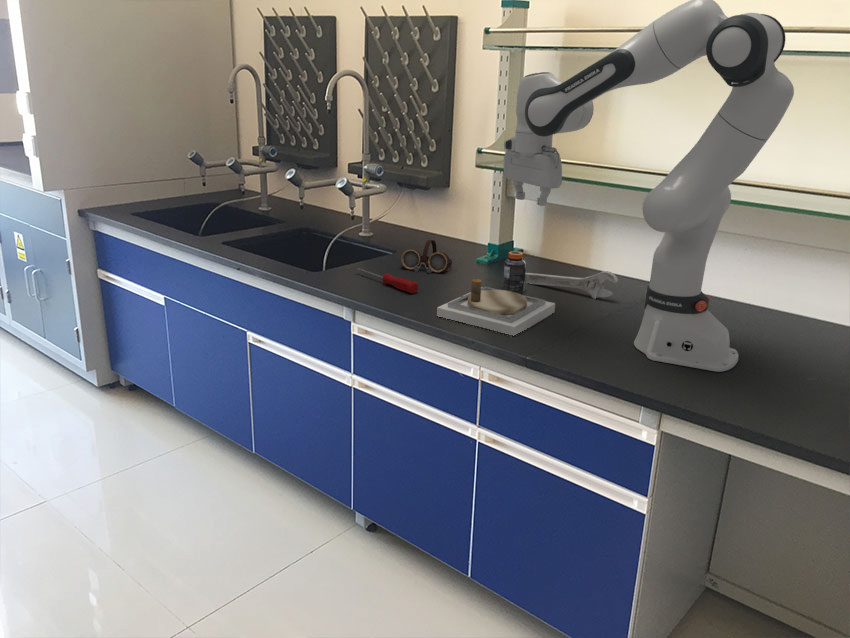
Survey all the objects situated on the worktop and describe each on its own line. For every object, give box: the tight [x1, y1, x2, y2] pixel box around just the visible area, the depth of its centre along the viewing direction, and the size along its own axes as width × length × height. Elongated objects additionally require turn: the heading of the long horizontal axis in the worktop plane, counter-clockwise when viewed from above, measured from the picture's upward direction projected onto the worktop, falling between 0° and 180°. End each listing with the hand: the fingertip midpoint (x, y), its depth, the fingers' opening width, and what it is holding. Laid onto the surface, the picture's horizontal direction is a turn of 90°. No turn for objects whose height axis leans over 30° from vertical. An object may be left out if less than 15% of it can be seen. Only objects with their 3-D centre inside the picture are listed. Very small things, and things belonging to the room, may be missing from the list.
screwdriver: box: [357, 268, 419, 295], centre depth 206 cm, size 4×25×4 cm, turn 44°
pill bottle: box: [502, 250, 527, 294], centre depth 201 cm, size 6×6×11 cm
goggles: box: [400, 239, 453, 274], centre depth 223 cm, size 15×13×10 cm
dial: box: [468, 278, 527, 314], centre depth 182 cm, size 15×15×7 cm
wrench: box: [525, 270, 619, 300], centre depth 202 cm, size 8×2×30 cm
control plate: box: [436, 286, 556, 336], centre depth 183 cm, size 22×22×4 cm
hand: (530, 202), depth 176 cm, fingers open, 8 cm apart
